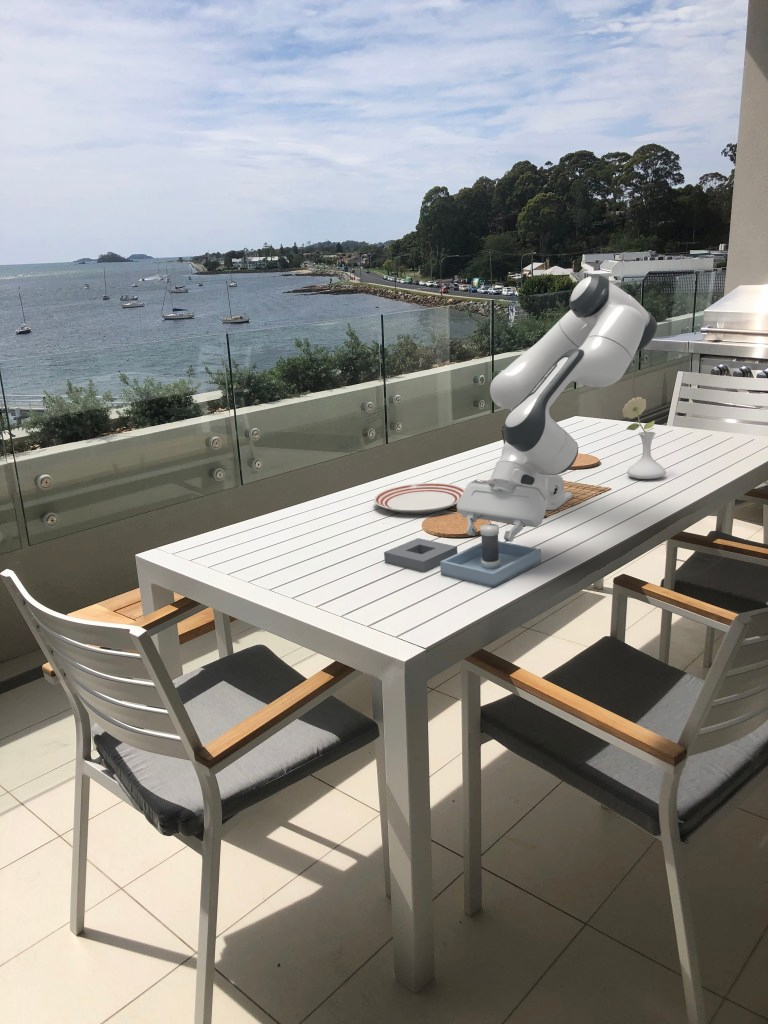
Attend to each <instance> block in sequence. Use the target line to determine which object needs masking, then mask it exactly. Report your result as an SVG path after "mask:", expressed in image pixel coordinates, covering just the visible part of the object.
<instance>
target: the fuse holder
mask: <svg viewBox="0 0 768 1024" xmlns="http://www.w3.org/2000/svg"><path fill="white" fill-rule="evenodd" d="M383 554H384V563H387V564H390V565H394V566H397V567H402V568H406V569H408V570H409V569H410V570H414V571H418V572H421V573H426V572H429V571H430V570H433V569H434V568H436V567H440V561H442V560H445V559H447V558H449V557H451V556H453V555H455V554H458V546H456V545H452V544H447V543H443V542H437V541H433V540H429V539H424V538H419V537H418V538H414V539H411V540H410V541H408V542H405V543H402V544H401V545H398V546H396V547H393V548H391V549H389V550H386V551H383Z"/></svg>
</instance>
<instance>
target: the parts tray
mask: <svg viewBox="0 0 768 1024" xmlns="http://www.w3.org/2000/svg"><path fill="white" fill-rule="evenodd" d="M498 549H499V558H500V566H499V567H498V568H494V569H487V568H483V567H482V563H481V559H482V542H480V543H477V544H475V545H473V546H471V547H469V548H467V549H464V550H462V551H460V552H457V554H455V555H453V556H451V557H449V558H447V559H445V560H442V561H440V565H439V567H440V575H442V576H446V577H450V578H453V579H458V580H462V581H466V582H470V583H474V584H476V585H477V584H478V585H481V586H485V587H489V588H494V589H495V588H496V587H498V586H499V585H502V584H503V583H505V582H506V581H508V580H510V579H513V578H514V577H516V576H518V575H519V574H521V573H523V572H525V571H527V570H529V569H530V568H533V567H534V566H536V565H538V564H540V563H541V562H542V555H541V554H542V552H541V551H542V549H541V548H535V547H531V546H525V545H520V544H515V543H512V542H510V543H509V542H507V541H501V540H498Z"/></svg>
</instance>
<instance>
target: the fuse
mask: <svg viewBox="0 0 768 1024" xmlns="http://www.w3.org/2000/svg"><path fill="white" fill-rule="evenodd" d="M499 526H500V525H498V524H495V523H486V524H481V525H480V526H479V532H480V533H479V534H480V536H481V537H480V538H481V543H482V559H481V563H482V567H483V568H487V569H494V568H498V567H499V566H500V558H499V549H498V541H499V534H500V527H499Z"/></svg>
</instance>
